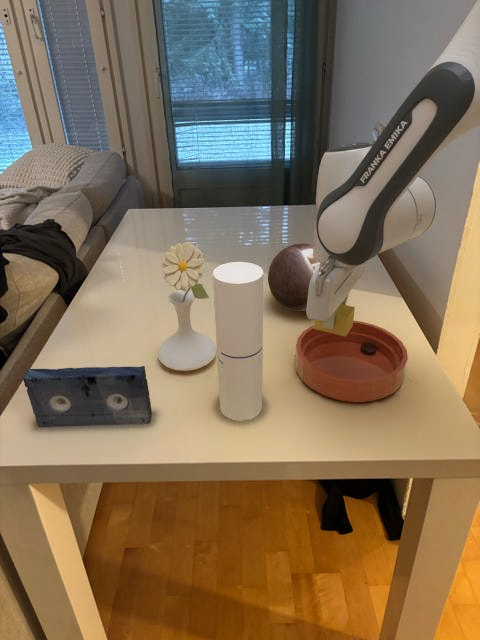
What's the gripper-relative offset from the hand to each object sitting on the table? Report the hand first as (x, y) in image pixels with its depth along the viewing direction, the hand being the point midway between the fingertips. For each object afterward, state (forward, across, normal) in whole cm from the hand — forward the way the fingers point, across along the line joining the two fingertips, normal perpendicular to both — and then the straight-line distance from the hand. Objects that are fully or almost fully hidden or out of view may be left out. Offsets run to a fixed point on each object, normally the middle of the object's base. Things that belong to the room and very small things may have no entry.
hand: (334, 319), depth 83 cm
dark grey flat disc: (+9, +6, -5) cm, 12 cm away
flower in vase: (+10, -11, +24) cm, 29 cm away
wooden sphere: (+10, +18, +14) cm, 24 cm away
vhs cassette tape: (+10, -32, +29) cm, 44 cm away
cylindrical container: (+10, -18, +10) cm, 23 cm away
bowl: (+10, 0, -4) cm, 11 cm away
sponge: (+2, 0, 0) cm, 2 cm away
